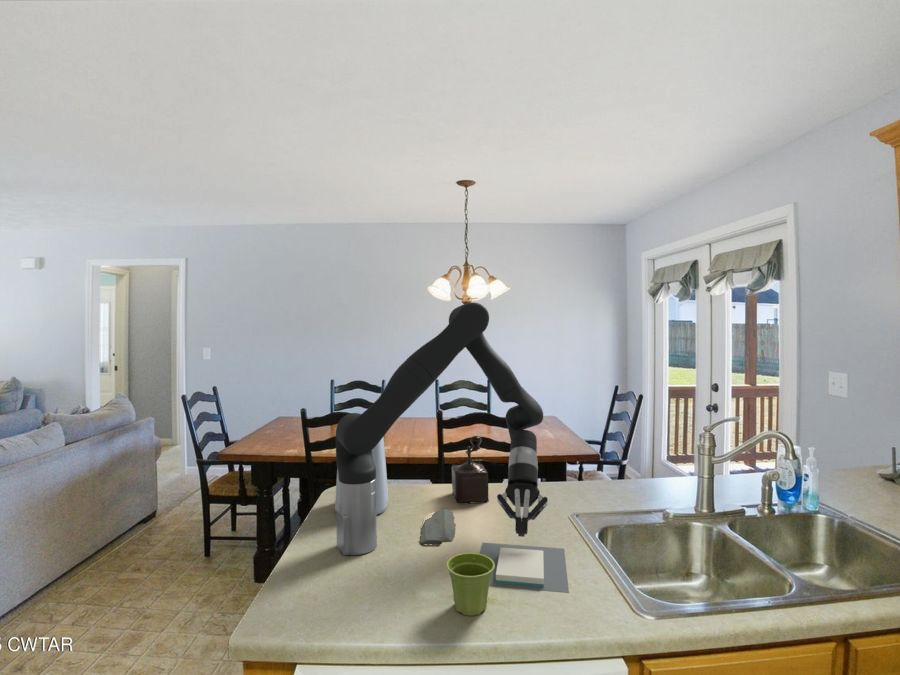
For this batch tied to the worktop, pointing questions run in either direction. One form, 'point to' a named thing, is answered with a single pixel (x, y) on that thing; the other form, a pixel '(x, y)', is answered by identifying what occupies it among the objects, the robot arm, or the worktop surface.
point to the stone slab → (438, 528)
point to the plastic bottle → (381, 479)
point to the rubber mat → (552, 567)
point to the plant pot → (470, 581)
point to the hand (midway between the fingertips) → (521, 535)
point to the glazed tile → (520, 567)
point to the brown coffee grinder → (470, 478)
